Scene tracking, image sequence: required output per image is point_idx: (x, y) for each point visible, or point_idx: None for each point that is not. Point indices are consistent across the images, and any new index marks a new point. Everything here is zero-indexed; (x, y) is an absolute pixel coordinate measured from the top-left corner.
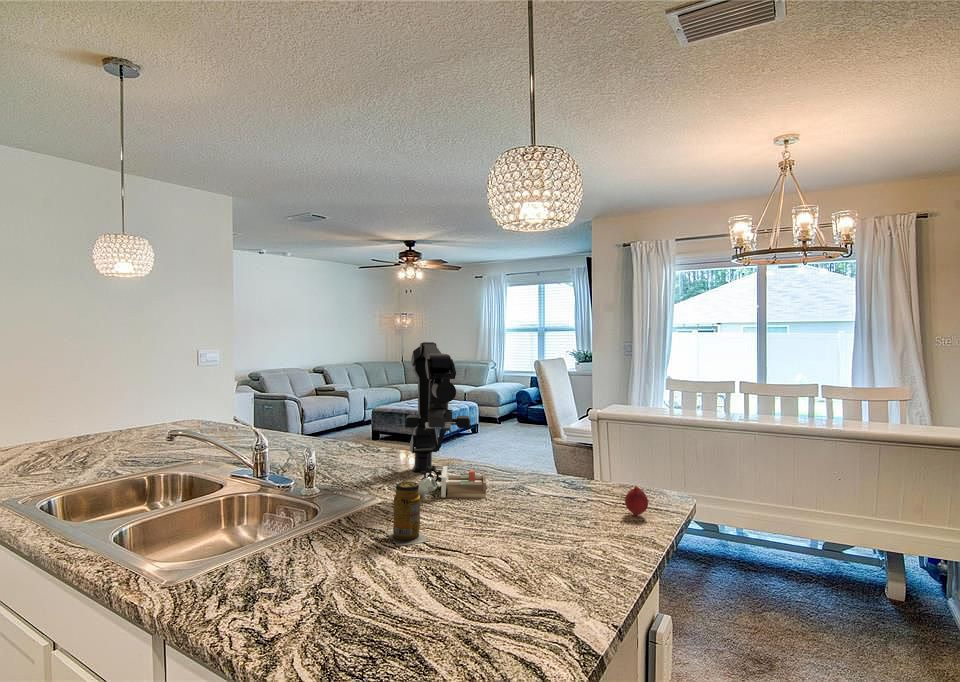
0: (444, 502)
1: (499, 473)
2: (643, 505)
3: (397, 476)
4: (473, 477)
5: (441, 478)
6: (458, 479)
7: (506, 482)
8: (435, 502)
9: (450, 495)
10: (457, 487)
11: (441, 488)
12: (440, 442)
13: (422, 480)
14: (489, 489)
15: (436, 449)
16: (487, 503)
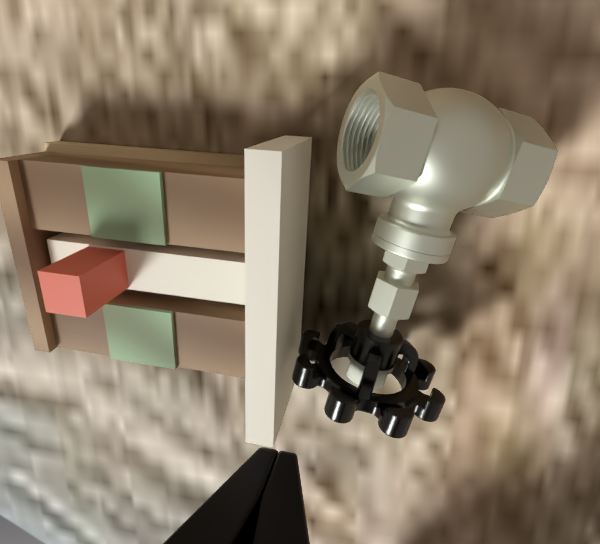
0: (292, 49)
1: (52, 481)
2: None
3: (550, 534)
4: (74, 258)
5: (299, 350)
6: (190, 309)
7: (4, 367)
8: (353, 49)
9: None
10: (191, 169)
11: (300, 142)
12: (188, 540)
13: (459, 154)
14: None
15: (287, 464)
16: (36, 30)
